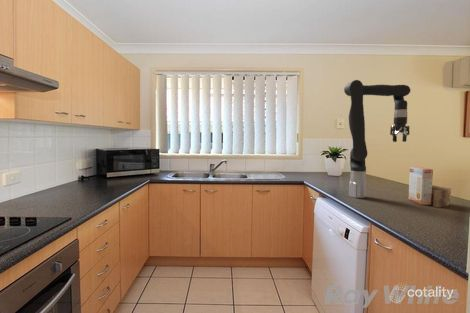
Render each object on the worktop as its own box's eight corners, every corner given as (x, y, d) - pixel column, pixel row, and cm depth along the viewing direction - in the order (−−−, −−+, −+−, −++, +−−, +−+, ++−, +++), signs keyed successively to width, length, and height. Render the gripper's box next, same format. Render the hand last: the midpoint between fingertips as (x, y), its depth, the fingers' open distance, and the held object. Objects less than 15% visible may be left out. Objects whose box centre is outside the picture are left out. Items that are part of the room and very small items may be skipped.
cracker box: (431, 205, 157) (433, 169, 156) (420, 205, 158) (422, 169, 156) (418, 199, 171) (419, 166, 170) (408, 199, 172) (409, 166, 170)
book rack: (437, 207, 153) (438, 189, 153) (403, 199, 173) (404, 183, 172) (449, 205, 157) (450, 188, 156) (414, 197, 176) (415, 182, 176)
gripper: (403, 117, 184) (402, 141, 185) (387, 117, 179) (386, 141, 180) (413, 116, 177) (412, 141, 178) (397, 116, 172) (396, 142, 173)
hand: (399, 141), depth 179 cm, fingers open, 8 cm apart
